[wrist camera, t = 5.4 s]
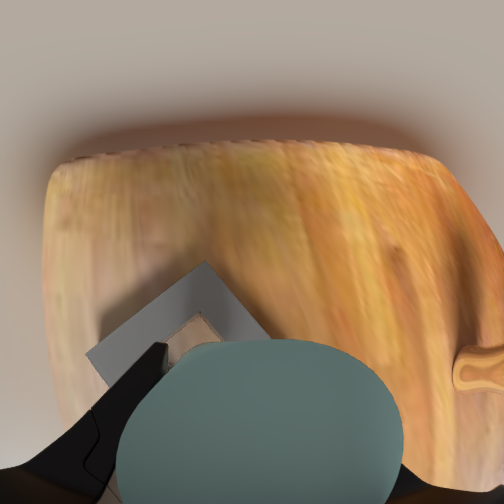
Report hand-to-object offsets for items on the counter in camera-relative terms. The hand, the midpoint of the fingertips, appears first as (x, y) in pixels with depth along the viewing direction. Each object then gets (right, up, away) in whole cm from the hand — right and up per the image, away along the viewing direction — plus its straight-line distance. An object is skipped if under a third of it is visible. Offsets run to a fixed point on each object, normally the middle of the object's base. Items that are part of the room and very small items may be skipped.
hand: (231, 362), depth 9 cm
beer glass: (+26, -10, +17) cm, 33 cm away
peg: (-2, -3, +6) cm, 7 cm away
